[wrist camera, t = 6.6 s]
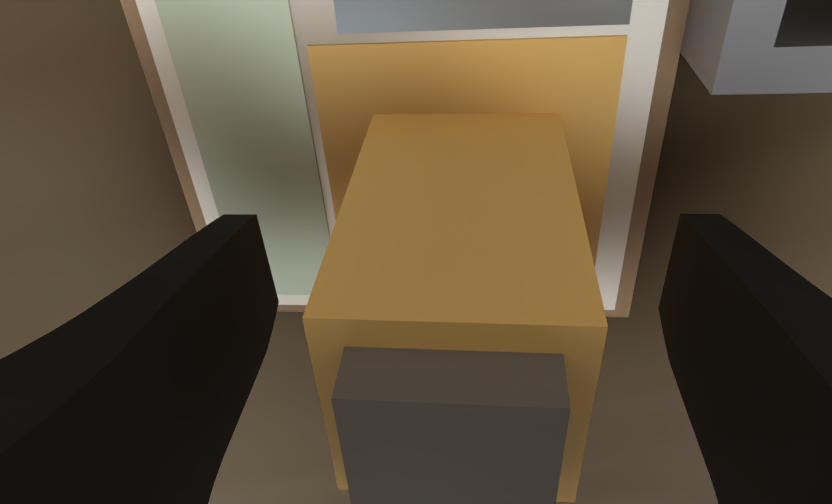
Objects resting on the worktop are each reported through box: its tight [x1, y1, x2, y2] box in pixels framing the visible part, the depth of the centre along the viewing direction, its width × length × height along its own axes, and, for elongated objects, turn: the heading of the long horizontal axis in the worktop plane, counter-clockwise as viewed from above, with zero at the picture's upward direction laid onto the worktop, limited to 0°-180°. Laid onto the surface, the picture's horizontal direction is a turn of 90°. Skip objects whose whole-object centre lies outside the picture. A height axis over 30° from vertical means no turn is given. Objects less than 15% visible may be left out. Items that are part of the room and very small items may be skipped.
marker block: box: [302, 113, 608, 504], centre depth 10 cm, size 4×4×6 cm
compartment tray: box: [120, 0, 690, 317], centre depth 12 cm, size 10×10×1 cm
